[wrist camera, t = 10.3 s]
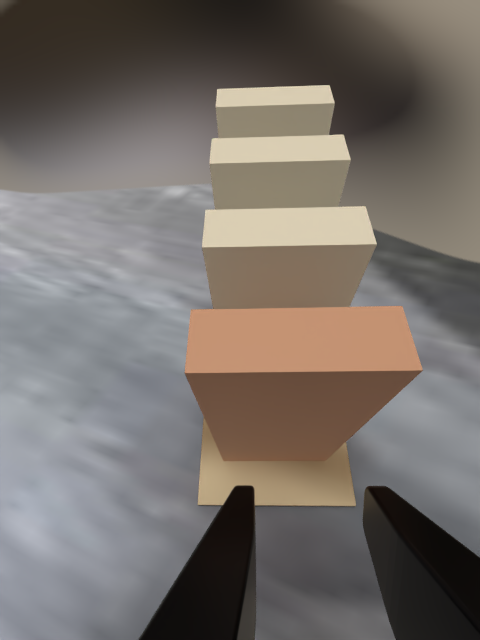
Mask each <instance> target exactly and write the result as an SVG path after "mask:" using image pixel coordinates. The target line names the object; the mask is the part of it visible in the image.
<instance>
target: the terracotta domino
mask: <svg viewBox="0 0 480 640" xmlns="http://www.w3.org/2000/svg"><path fill="white" fill-rule="evenodd" d="M422 371H423V370H422V366H421V363H420V360H419V357H418V354H417V351H416V348H415V345H414V341H413V338H412V335H411V332H410V329H409V326H408V323H407V320H406V317H405V313H404V310H403V307H402V306H376V307H317V308H259V309H200V310H191V315H190V325H189V335H188V345H187V355H186V365H185V375H186V377H187V380H188V382H189V384H190V386H191V389H192V391H193V393H194V395H195V398H196V400H197V402H198V404H199V407H200V409H201V411H202V413H203V416H204V418H205V420H206V423H207V425H208V427H209V429H210V432H211V434H212V436H213V438H214V441H215V443H216V445H217V447H218V450H219V452H220V454H221V457H222V459H223V461H326V460H327V459H328V458H329V457H330V456H331V455H332V454H333V453H334V452H335V451H336V450H338V449H339V448H340V447H341V446H342V445H343V444H344V443H345V442H346V441H347V440H348V439H349V438H350V437H352V436H353V435H354V434H355V433H356V432H357V431H358V430H359V429H360V428H361V427H362V426H363V425H364V424H366V423H367V422H368V421H369V420H370V419H371V418H372V417H373V416H374V415H375V414H376V413H377V412H378V411H380V410H381V409H382V408H383V407H384V406H385V405H386V404H387V403H388V402H389V401H390V400H391V399H393V398H394V397H395V396H396V395H397V394H398V393H399V392H400V391H401V390H402V389H403V388H404V387H405V386H407V385H408V384H409V383H410V382H411V381H412V380H413V379H414V378H415V377H416V376H417V375H418V374H419V373H421V372H422Z"/></svg>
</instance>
